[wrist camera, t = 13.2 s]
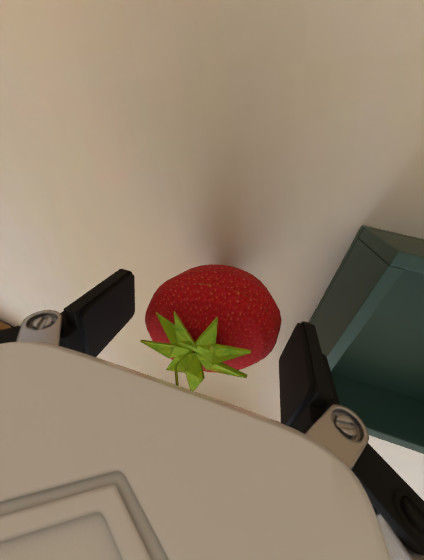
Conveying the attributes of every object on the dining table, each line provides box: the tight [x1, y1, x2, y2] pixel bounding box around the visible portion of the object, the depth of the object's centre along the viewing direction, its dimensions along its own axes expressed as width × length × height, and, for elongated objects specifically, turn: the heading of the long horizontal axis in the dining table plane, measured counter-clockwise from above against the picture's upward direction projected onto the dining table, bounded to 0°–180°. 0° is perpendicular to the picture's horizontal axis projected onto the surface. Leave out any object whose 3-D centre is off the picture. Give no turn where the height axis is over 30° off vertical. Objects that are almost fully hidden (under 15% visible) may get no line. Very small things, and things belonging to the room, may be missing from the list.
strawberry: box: [140, 265, 281, 391], centre depth 12 cm, size 6×8×10 cm
